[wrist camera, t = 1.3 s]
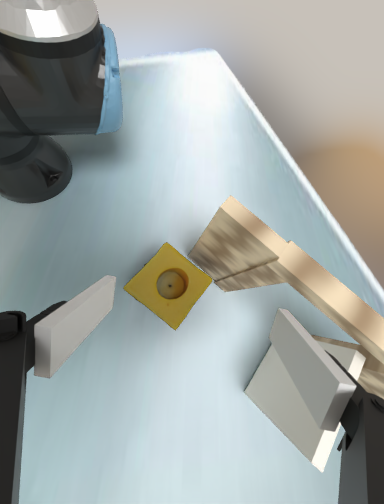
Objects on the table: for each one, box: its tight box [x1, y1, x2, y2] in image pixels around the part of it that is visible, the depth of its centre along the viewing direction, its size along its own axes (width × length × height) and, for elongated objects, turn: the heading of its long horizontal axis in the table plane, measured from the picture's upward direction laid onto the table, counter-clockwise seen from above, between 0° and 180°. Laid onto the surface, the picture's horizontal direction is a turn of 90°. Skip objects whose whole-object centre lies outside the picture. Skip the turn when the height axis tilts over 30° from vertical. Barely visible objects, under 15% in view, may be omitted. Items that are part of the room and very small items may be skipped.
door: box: [244, 340, 366, 472], centre depth 29 cm, size 14×3×16 cm, turn 140°
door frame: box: [188, 196, 384, 399], centre depth 29 cm, size 40×3×22 cm, turn 50°
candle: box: [123, 242, 212, 330], centre depth 33 cm, size 10×10×10 cm
